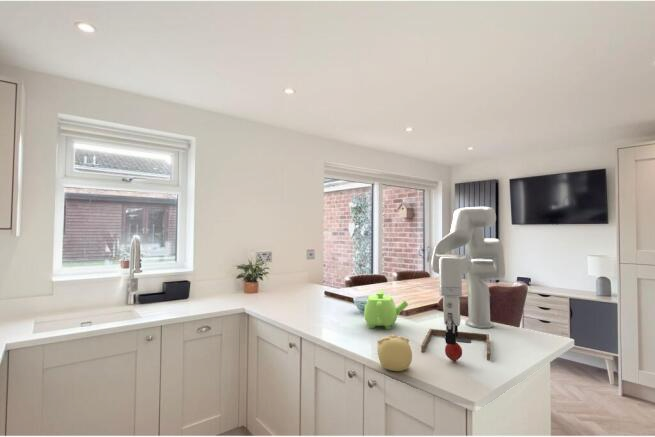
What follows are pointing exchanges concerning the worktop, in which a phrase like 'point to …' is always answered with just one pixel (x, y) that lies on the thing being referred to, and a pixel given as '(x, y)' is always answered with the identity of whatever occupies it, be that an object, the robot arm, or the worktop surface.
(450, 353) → the onion
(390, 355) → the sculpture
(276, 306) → the worktop surface
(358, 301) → the chinaware
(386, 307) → the teapot
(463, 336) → the wooden u-shaped frame
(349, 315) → the worktop surface
